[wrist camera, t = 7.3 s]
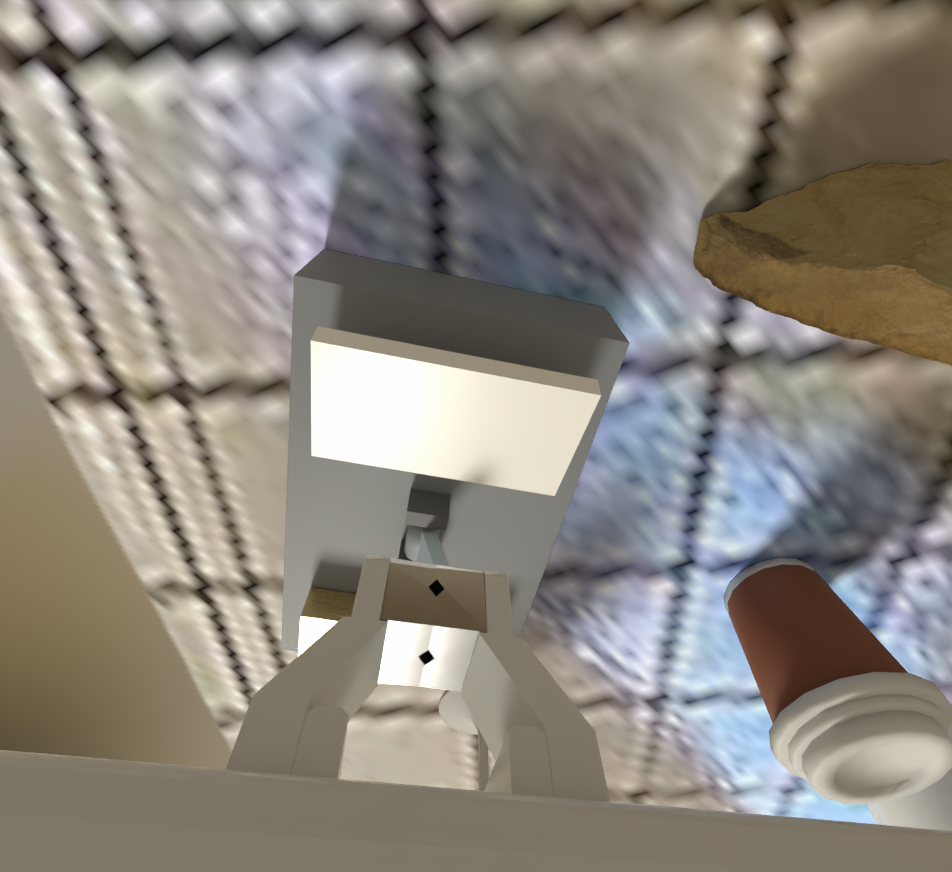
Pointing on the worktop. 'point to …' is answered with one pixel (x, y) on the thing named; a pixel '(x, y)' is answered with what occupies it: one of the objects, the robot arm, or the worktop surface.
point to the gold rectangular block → (322, 614)
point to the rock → (847, 256)
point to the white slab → (445, 412)
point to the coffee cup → (836, 689)
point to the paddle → (424, 546)
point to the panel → (417, 495)
